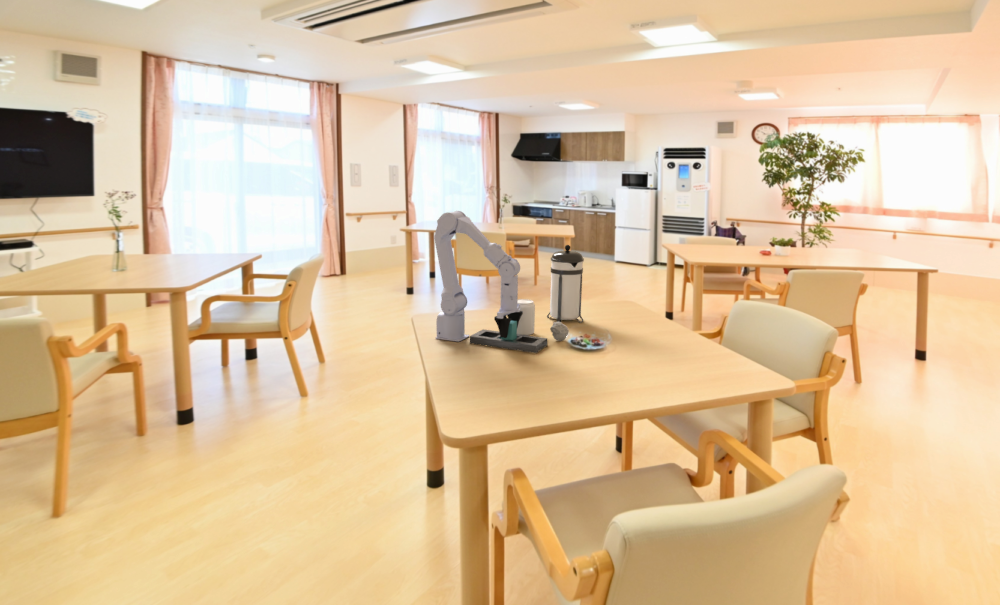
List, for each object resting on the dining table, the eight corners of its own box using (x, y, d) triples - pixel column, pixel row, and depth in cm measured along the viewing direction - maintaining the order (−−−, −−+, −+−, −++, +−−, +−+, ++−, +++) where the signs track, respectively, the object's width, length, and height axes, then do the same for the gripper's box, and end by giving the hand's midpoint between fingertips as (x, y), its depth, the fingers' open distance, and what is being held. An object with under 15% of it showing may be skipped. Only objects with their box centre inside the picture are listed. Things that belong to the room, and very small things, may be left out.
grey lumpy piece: (545, 341, 209) (546, 321, 208) (559, 337, 214) (559, 318, 212) (559, 344, 205) (560, 325, 203) (572, 340, 210) (573, 321, 208)
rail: (469, 343, 205) (469, 336, 205) (483, 336, 214) (483, 329, 214) (536, 353, 195) (536, 345, 195) (547, 345, 204) (547, 338, 204)
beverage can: (538, 332, 220) (539, 300, 217) (527, 337, 213) (527, 304, 210) (519, 329, 224) (519, 297, 221) (507, 334, 217) (508, 301, 215)
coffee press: (591, 318, 241) (594, 244, 234) (573, 327, 228) (577, 248, 221) (552, 312, 250) (554, 240, 243) (533, 320, 237) (535, 244, 230)
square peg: (500, 345, 204) (501, 322, 202) (505, 342, 207) (506, 319, 206) (511, 346, 202) (512, 323, 200) (516, 343, 206) (516, 321, 204)
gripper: (511, 300, 193) (510, 341, 196) (528, 292, 206) (527, 331, 209) (491, 298, 196) (491, 338, 199) (509, 290, 209) (509, 328, 212)
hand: (508, 334), depth 204 cm, fingers open, 7 cm apart
